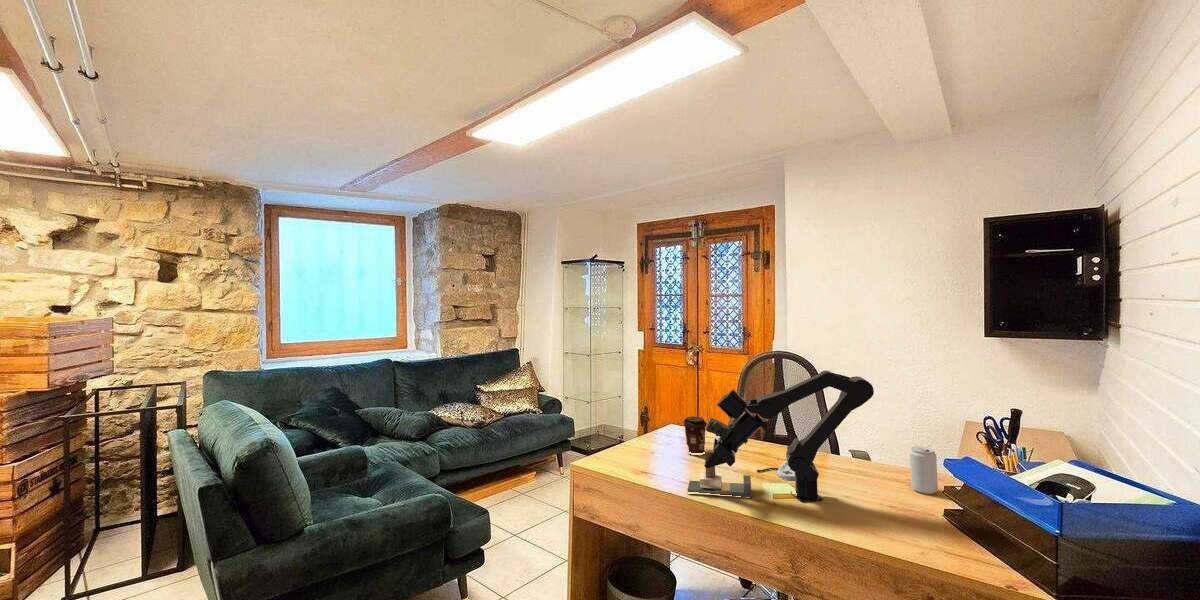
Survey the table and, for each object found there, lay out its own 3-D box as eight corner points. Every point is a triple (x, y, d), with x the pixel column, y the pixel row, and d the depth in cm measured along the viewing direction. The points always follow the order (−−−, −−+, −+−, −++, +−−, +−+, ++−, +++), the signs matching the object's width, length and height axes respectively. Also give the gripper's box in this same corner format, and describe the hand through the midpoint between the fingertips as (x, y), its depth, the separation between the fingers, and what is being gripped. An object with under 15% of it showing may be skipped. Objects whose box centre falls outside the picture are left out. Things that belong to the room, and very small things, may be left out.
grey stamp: (721, 481, 150) (720, 448, 150) (721, 488, 144) (719, 454, 144) (701, 480, 151) (700, 447, 151) (700, 487, 145) (698, 453, 145)
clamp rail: (750, 489, 148) (750, 475, 148) (751, 498, 141) (751, 484, 141) (689, 485, 153) (689, 472, 153) (687, 494, 146) (687, 480, 146)
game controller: (796, 482, 152) (796, 476, 152) (754, 476, 159) (754, 470, 159) (805, 467, 165) (805, 462, 165) (766, 462, 172) (766, 457, 172)
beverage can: (925, 496, 138) (924, 453, 138) (905, 488, 144) (904, 447, 144) (943, 493, 139) (941, 450, 139) (923, 485, 146) (921, 444, 146)
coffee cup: (679, 454, 183) (678, 418, 183) (692, 448, 189) (691, 414, 189) (699, 458, 177) (698, 422, 177) (712, 453, 183) (710, 417, 183)
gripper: (722, 403, 155) (688, 437, 158) (720, 417, 137) (682, 455, 140) (749, 428, 153) (714, 462, 156) (751, 447, 135) (711, 484, 138)
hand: (705, 465), depth 148 cm, fingers closed on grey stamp, 3 cm apart
